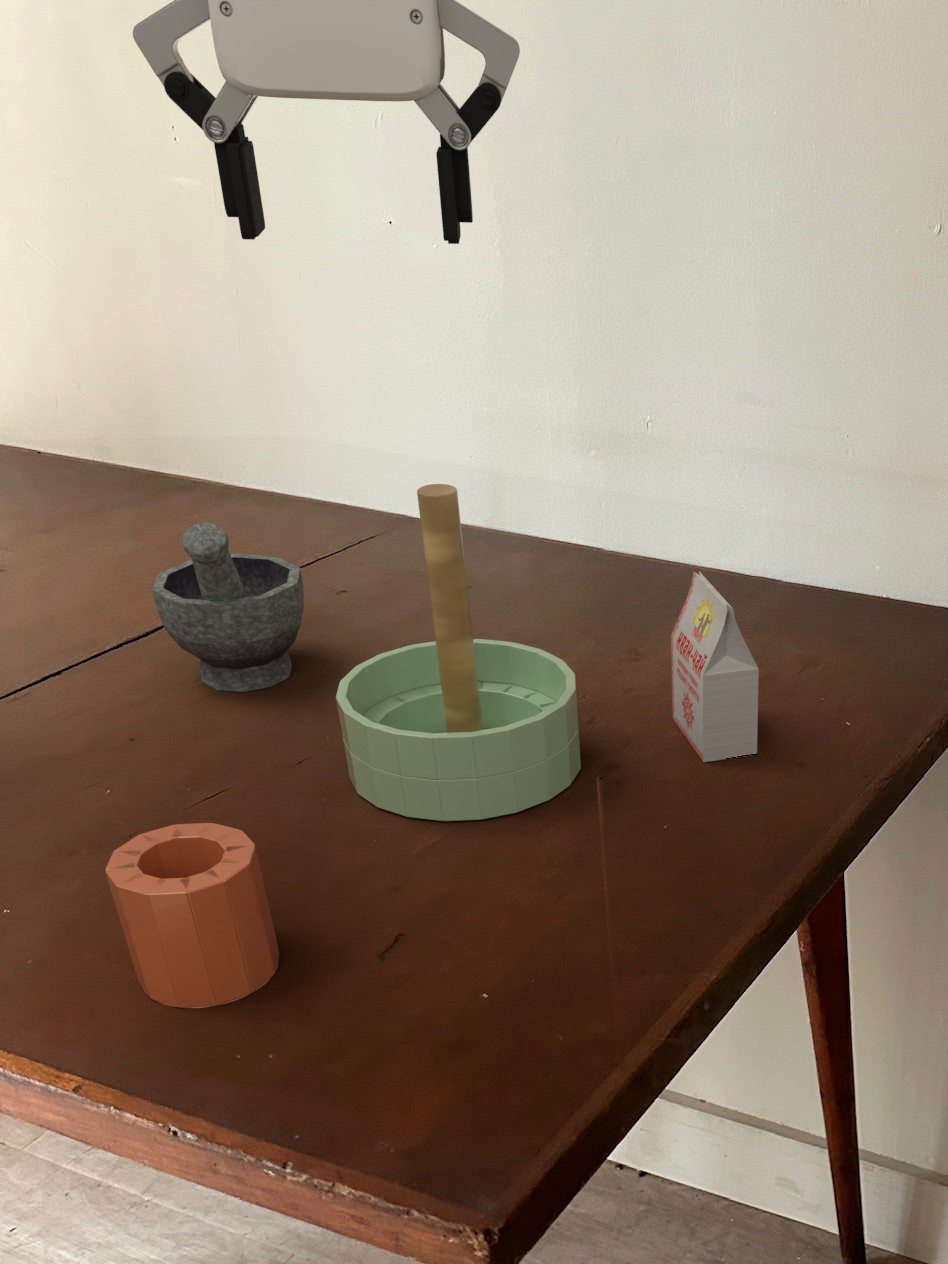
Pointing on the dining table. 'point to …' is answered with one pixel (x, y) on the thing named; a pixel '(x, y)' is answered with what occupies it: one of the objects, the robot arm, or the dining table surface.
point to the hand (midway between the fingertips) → (354, 237)
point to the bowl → (460, 733)
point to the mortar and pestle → (231, 611)
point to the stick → (450, 606)
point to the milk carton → (713, 677)
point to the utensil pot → (194, 914)
